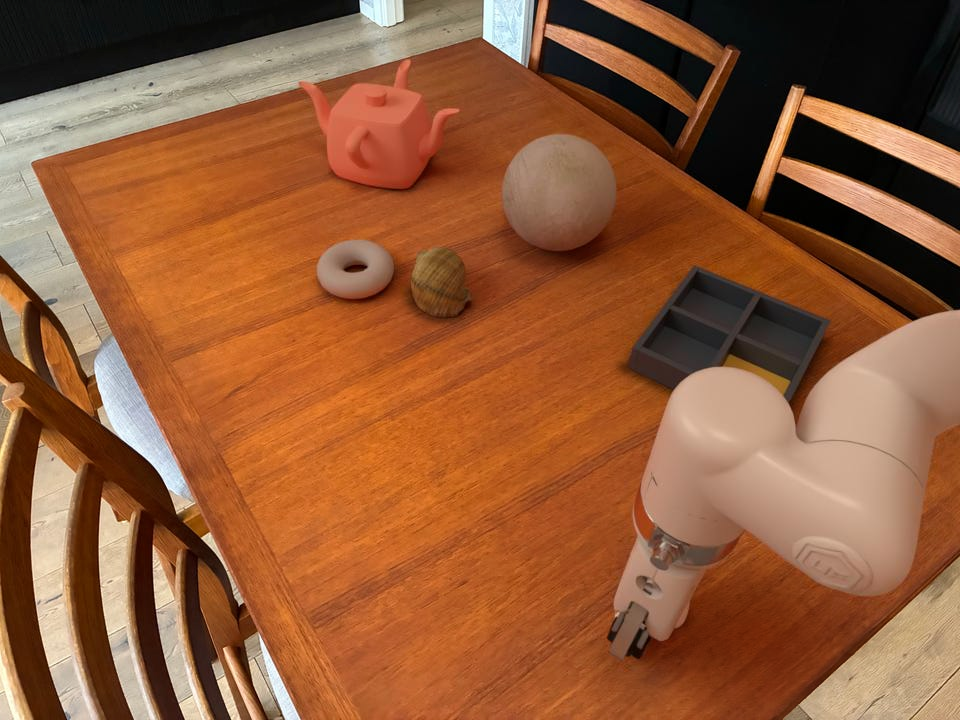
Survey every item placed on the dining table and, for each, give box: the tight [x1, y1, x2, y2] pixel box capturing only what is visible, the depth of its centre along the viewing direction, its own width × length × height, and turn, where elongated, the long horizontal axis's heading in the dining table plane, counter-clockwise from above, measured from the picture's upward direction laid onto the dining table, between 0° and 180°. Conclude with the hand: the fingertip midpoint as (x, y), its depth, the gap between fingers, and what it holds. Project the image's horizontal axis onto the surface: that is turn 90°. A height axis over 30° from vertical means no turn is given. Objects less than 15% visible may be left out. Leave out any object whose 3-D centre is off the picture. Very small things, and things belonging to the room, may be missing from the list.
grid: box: [627, 264, 832, 405], centre depth 86 cm, size 17×17×4 cm
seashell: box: [410, 246, 473, 319], centre depth 92 cm, size 10×7×8 cm
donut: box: [316, 238, 395, 300], centre depth 94 cm, size 10×4×10 cm
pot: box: [297, 59, 460, 190], centre depth 108 cm, size 18×17×12 cm
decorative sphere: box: [501, 133, 618, 252], centre depth 96 cm, size 15×15×15 cm
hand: (643, 611), depth 65 cm, fingers closed on garlic bulb, 6 cm apart
